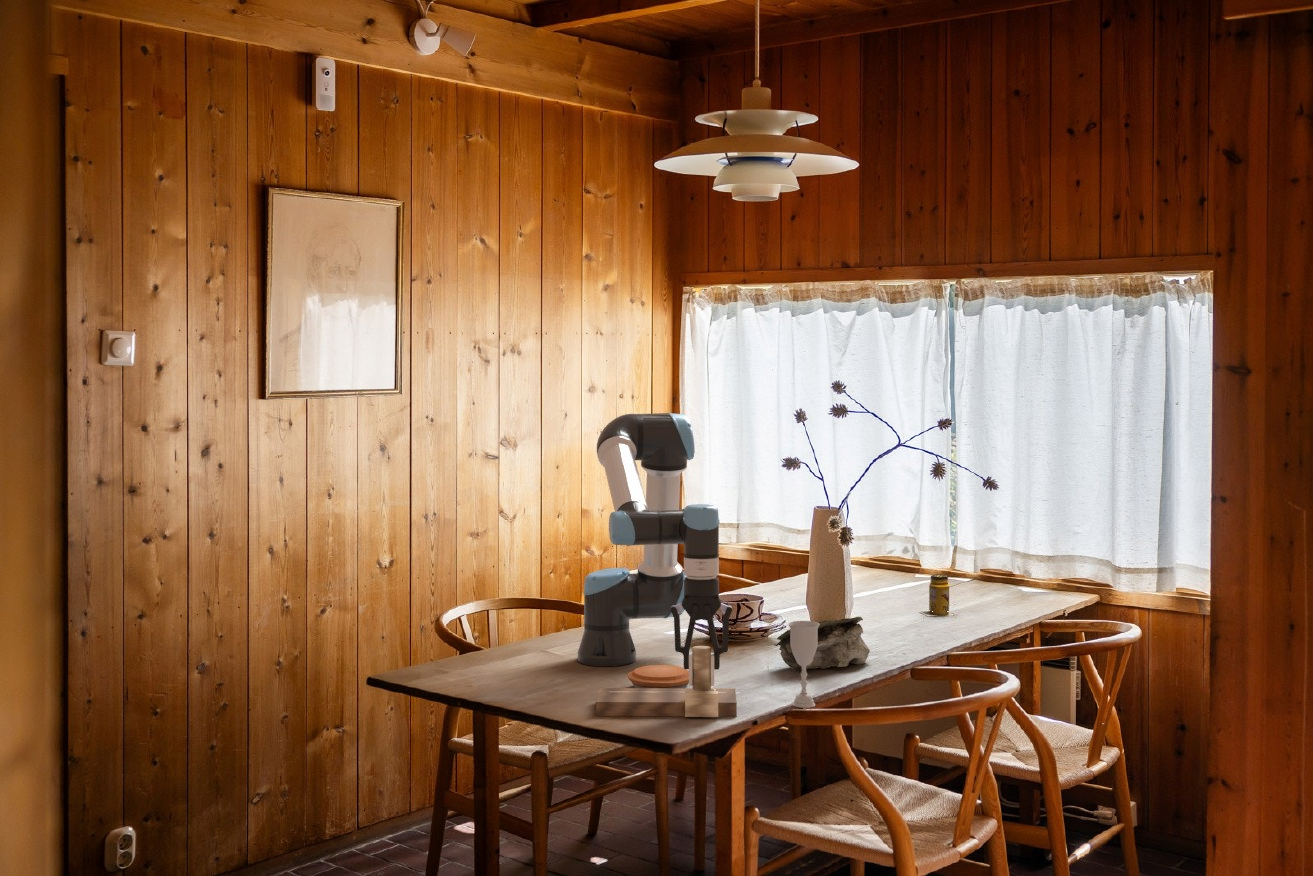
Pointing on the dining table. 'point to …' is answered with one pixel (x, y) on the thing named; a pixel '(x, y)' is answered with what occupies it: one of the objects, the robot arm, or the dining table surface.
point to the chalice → (803, 654)
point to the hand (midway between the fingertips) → (701, 683)
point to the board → (656, 702)
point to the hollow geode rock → (831, 645)
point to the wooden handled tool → (701, 686)
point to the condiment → (938, 596)
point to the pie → (659, 677)
